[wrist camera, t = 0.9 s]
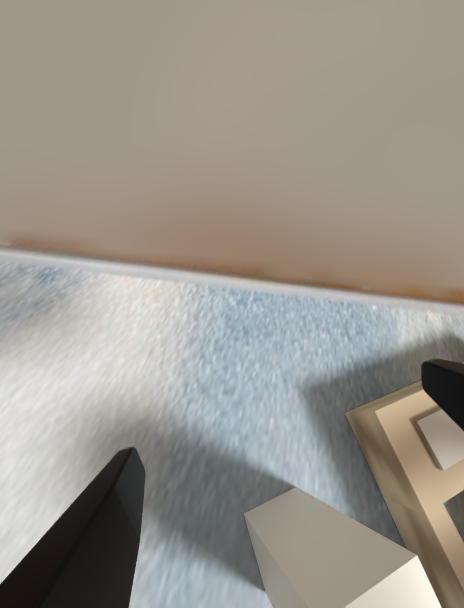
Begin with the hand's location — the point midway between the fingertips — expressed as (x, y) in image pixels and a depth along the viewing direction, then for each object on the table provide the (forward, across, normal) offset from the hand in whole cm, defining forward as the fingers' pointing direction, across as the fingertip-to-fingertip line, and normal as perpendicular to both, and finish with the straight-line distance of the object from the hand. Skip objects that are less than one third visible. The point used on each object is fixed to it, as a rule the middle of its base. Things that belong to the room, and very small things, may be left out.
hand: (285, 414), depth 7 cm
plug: (+5, +1, +14) cm, 15 cm away
